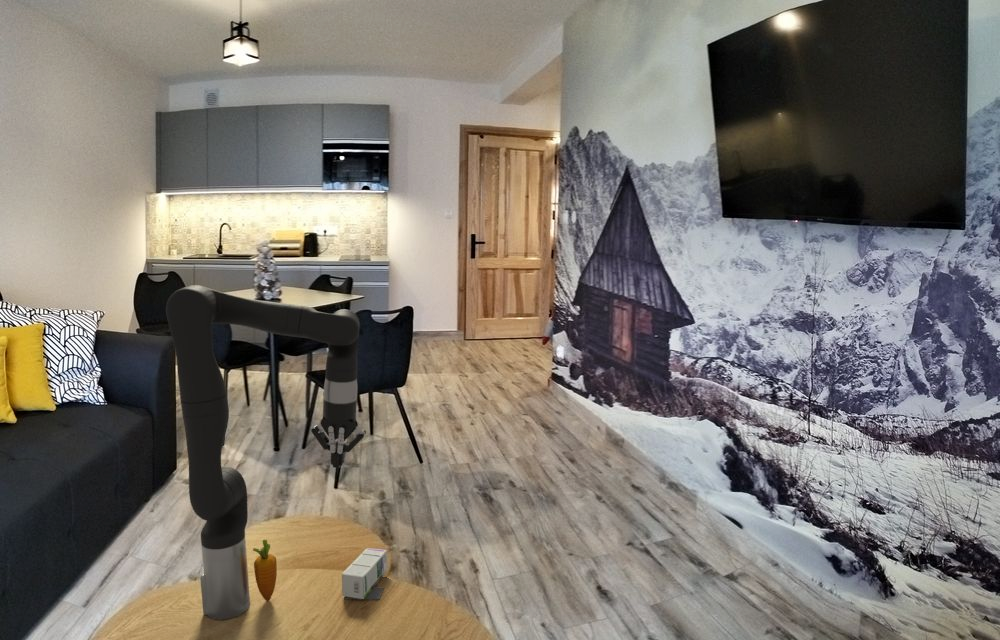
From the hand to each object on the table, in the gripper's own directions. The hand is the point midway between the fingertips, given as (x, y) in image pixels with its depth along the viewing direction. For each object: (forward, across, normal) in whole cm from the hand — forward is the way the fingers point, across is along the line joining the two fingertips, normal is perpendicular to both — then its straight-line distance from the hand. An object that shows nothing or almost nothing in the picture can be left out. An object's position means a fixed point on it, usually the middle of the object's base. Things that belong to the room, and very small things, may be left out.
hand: (337, 466), depth 153 cm
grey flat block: (+31, -9, +3) cm, 32 cm away
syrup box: (+27, -6, +5) cm, 29 cm away
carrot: (+33, +13, +7) cm, 36 cm away
